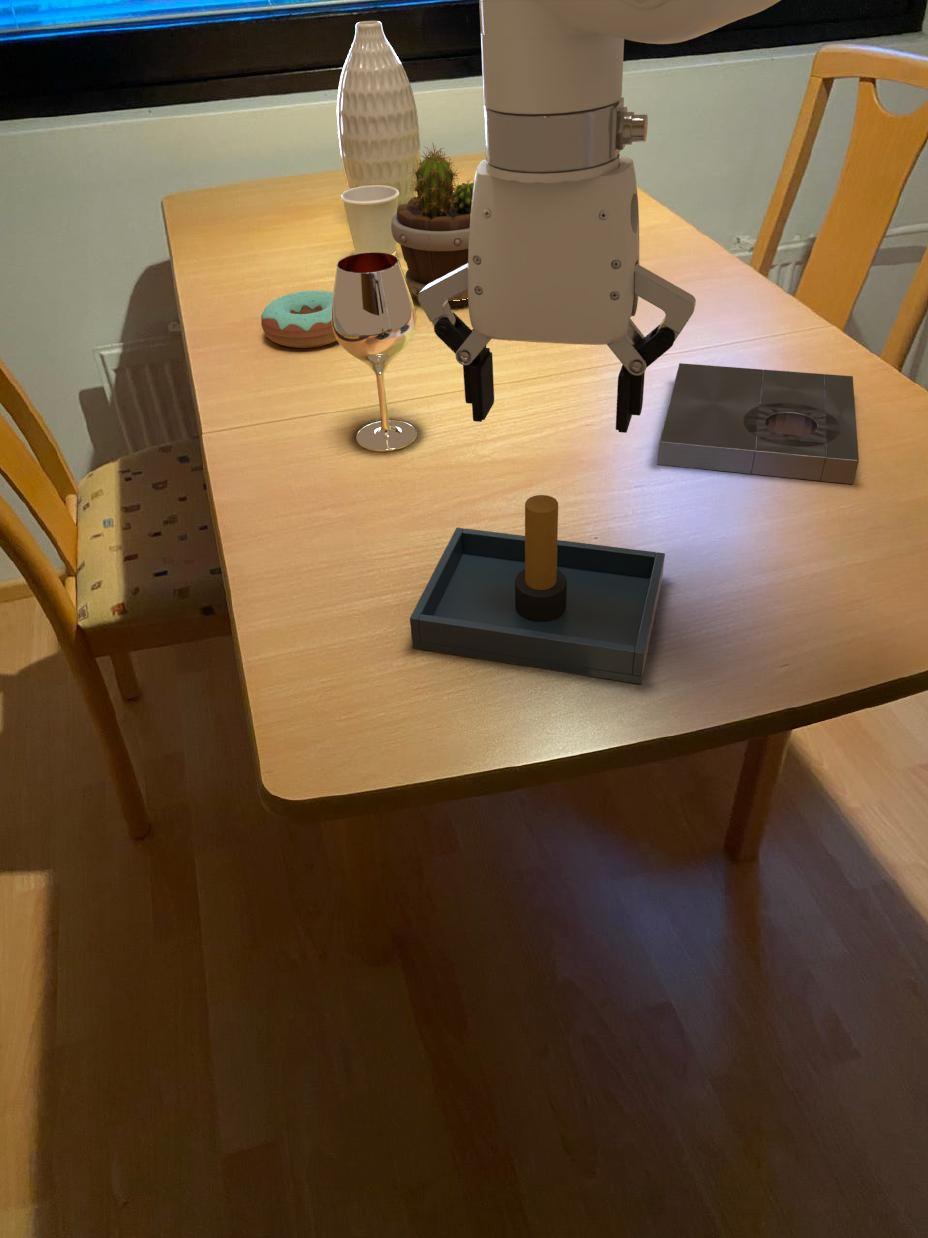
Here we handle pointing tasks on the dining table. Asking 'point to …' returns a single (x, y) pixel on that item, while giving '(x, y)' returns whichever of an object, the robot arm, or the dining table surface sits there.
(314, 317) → the donut
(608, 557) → the basin tray
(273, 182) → the dining table surface
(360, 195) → the dixie cup
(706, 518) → the dining table surface
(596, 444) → the dining table surface
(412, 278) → the flowerpot
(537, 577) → the plug
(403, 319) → the wineglass
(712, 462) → the drain plate
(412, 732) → the dining table surface
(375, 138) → the vase
